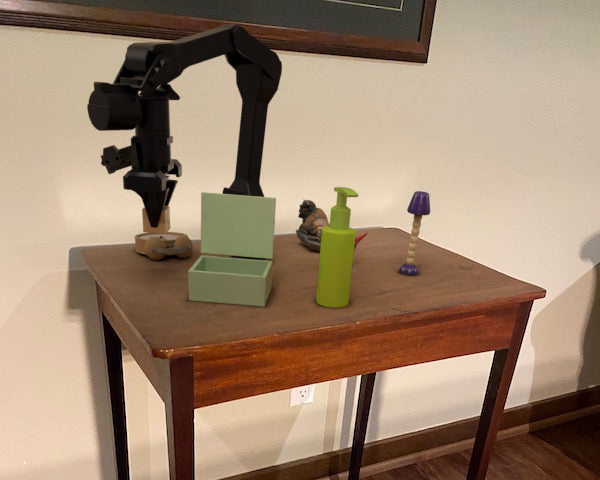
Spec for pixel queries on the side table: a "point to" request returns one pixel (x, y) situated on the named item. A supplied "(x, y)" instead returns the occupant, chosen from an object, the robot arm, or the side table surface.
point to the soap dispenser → (336, 254)
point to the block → (163, 223)
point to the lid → (237, 225)
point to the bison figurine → (311, 224)
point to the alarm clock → (163, 244)
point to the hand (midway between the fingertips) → (156, 224)
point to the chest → (230, 280)
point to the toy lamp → (415, 229)
